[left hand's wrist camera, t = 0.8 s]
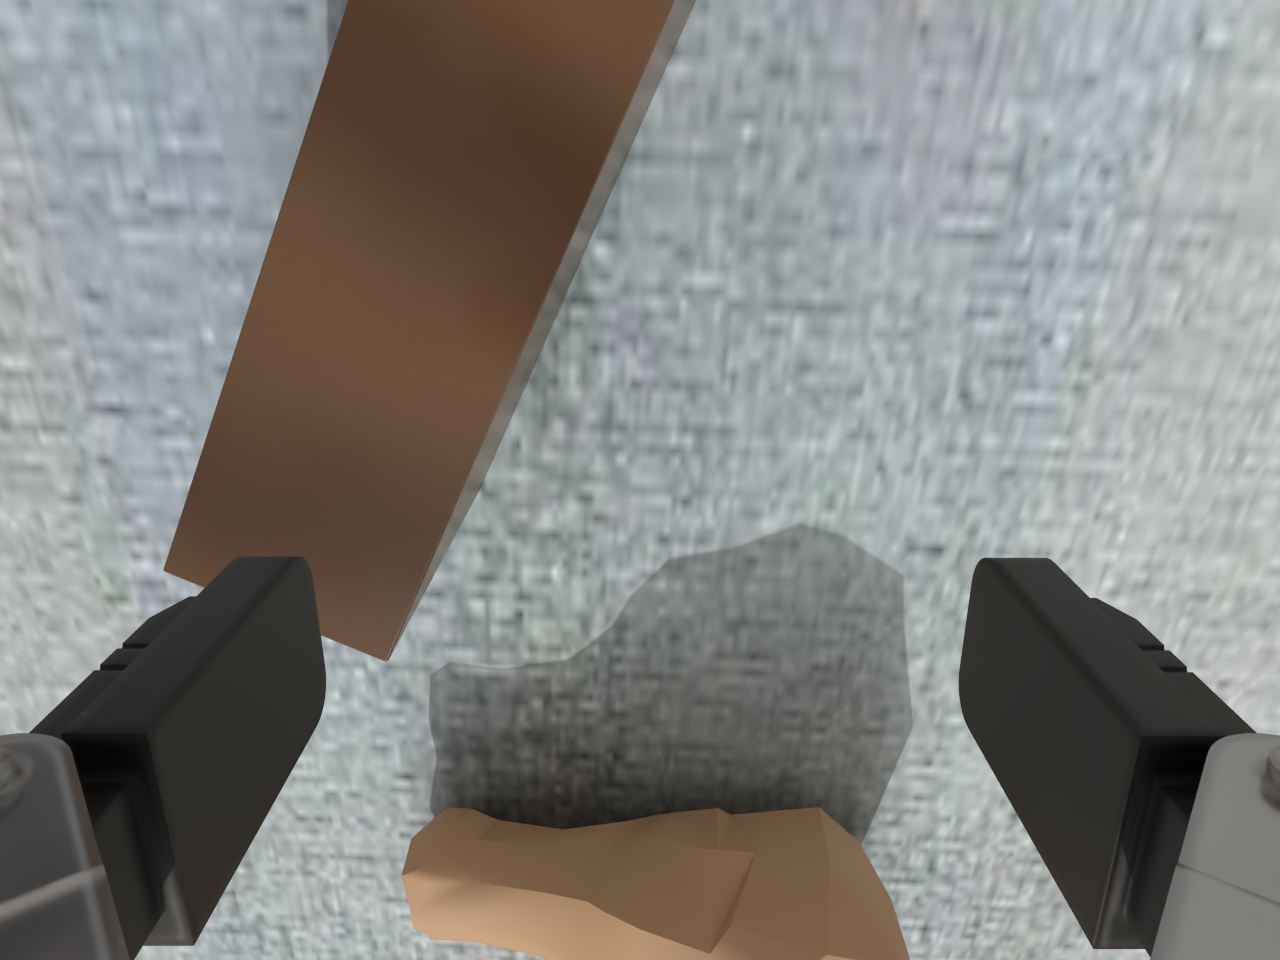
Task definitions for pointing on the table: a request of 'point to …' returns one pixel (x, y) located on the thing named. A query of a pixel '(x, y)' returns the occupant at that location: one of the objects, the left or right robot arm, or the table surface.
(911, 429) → the table surface
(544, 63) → the box
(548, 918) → the squash
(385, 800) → the table surface
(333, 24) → the table surface
